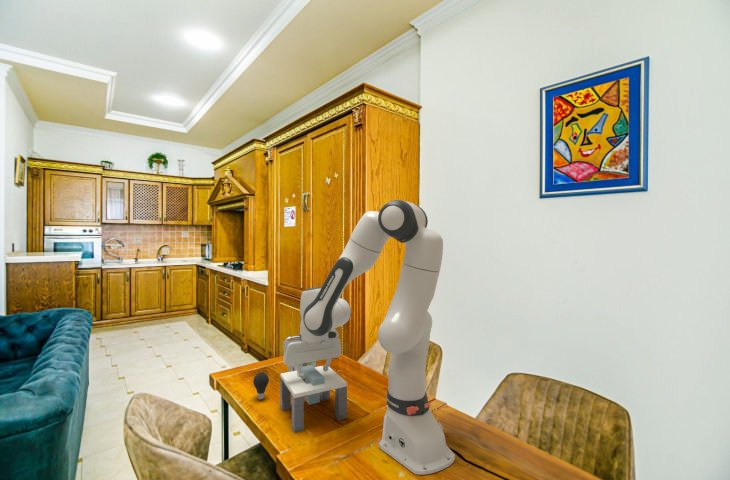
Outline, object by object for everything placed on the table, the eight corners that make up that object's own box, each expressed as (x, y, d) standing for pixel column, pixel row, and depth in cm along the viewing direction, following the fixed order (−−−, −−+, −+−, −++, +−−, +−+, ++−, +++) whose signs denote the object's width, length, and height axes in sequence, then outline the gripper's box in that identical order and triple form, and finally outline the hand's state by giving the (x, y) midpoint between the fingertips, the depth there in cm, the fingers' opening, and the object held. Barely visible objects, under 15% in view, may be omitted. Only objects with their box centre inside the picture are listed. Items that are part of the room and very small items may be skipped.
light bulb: (264, 403, 120) (264, 376, 120) (250, 402, 121) (250, 375, 121) (271, 396, 126) (271, 370, 126) (258, 395, 127) (258, 369, 127)
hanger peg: (324, 407, 110) (324, 377, 110) (312, 410, 108) (312, 379, 108) (312, 392, 120) (312, 365, 120) (301, 395, 119) (301, 367, 119)
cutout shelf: (346, 418, 110) (346, 382, 110) (294, 432, 102) (294, 394, 102) (326, 396, 126) (327, 364, 126) (280, 406, 118) (280, 373, 118)
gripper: (285, 340, 107) (285, 382, 106) (343, 332, 116) (343, 371, 116) (280, 335, 112) (280, 375, 112) (336, 327, 122) (336, 365, 122)
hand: (313, 373), depth 114 cm, fingers open, 8 cm apart
